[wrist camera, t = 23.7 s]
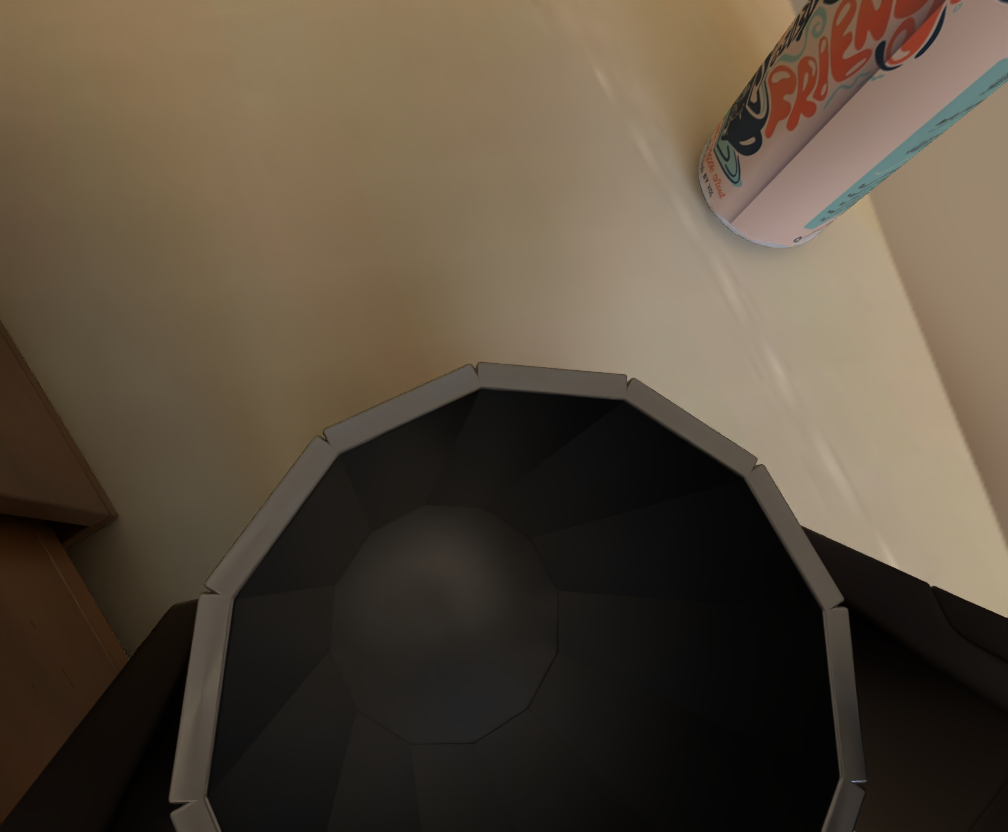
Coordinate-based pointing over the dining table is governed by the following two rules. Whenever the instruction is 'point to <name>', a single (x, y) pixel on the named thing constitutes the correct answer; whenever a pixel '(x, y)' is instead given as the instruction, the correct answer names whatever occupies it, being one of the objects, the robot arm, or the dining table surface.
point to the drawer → (45, 652)
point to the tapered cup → (521, 629)
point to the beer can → (847, 109)
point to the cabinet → (43, 458)
